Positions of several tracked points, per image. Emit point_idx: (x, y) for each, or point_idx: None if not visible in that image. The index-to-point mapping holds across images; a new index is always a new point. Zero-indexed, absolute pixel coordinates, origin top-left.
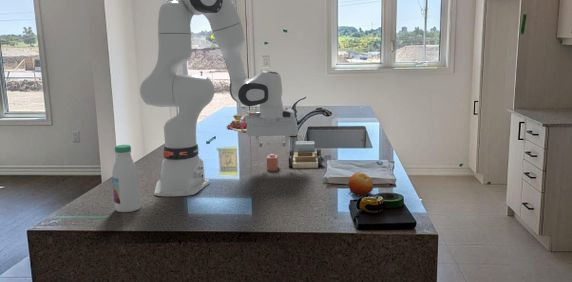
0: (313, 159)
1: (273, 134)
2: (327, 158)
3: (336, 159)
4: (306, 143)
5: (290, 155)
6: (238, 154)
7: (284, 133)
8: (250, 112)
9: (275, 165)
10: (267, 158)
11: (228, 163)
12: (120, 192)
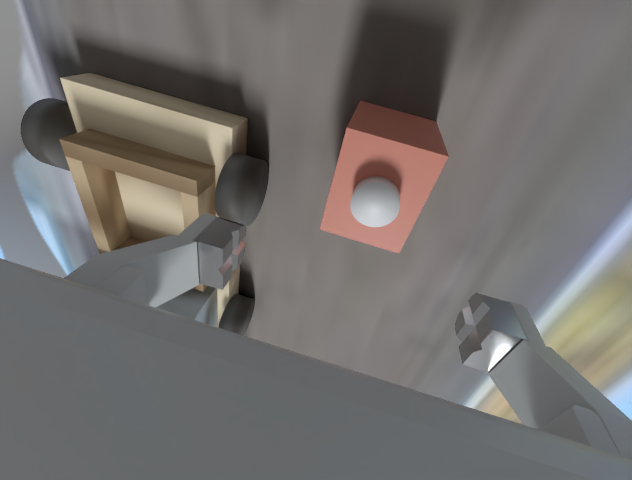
0: (88, 136)
1: (312, 383)
2: (95, 248)
3: (52, 220)
4: None
5: (243, 304)
6: None
7: (70, 321)
8: None
9: (369, 113)
10: (440, 152)
11: (586, 353)
12: None
